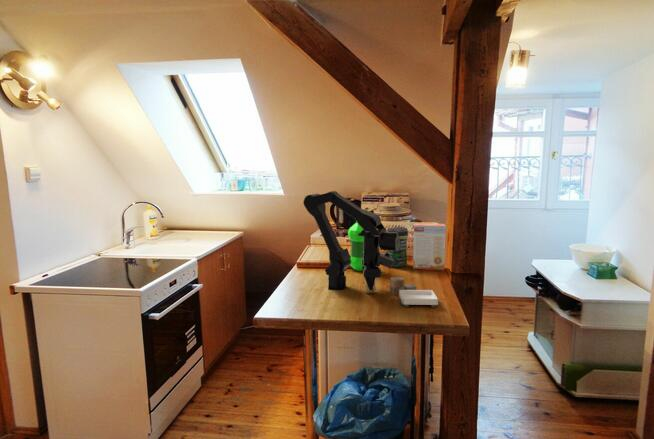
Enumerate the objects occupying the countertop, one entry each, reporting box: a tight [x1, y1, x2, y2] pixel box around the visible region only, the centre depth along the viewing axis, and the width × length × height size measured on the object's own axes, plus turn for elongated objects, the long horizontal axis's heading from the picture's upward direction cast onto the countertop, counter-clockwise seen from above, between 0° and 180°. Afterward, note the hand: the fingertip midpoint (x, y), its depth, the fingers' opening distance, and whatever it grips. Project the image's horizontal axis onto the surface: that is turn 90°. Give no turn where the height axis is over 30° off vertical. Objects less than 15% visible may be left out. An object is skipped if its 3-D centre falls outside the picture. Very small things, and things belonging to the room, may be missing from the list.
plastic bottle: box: [347, 220, 364, 272], centre depth 178 cm, size 10×10×25 cm
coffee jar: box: [386, 226, 409, 269], centre depth 184 cm, size 10×8×19 cm
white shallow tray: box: [398, 289, 439, 309], centre depth 138 cm, size 12×9×3 cm
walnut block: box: [389, 276, 405, 296], centre depth 148 cm, size 4×4×6 cm
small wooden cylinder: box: [364, 278, 377, 294], centre depth 148 cm, size 4×4×6 cm
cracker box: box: [412, 222, 447, 271], centre depth 179 cm, size 14×6×21 cm, turn 77°
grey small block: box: [404, 284, 417, 290], centre depth 148 cm, size 4×4×3 cm
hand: (370, 288), depth 148 cm, fingers closed on small wooden cylinder, 4 cm apart
